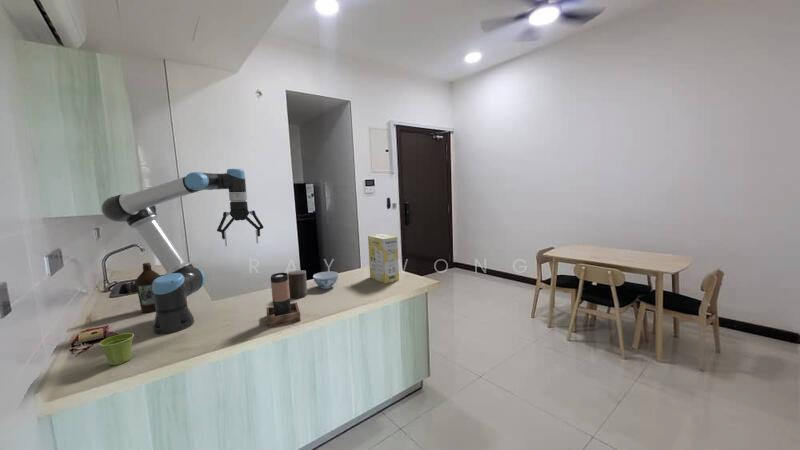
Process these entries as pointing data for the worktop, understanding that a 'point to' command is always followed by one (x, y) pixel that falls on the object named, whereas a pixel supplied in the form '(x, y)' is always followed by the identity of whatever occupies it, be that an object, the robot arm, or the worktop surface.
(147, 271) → the olive oil
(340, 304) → the worktop surface
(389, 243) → the pasta box
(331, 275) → the chinaware
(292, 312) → the walnut caddy
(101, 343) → the plant pot
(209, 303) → the worktop surface
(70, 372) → the worktop surface
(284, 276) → the travel mug
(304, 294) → the pillar candle
